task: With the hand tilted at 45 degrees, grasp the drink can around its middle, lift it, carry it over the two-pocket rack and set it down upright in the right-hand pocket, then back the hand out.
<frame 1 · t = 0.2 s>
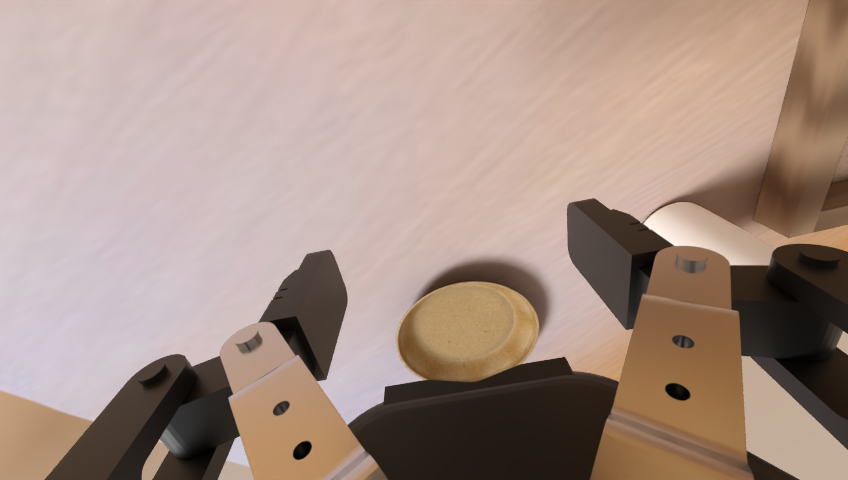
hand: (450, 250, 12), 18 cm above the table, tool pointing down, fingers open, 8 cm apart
plant saucer: (463, 321, 38), on the table
can: (666, 230, 33), on the table
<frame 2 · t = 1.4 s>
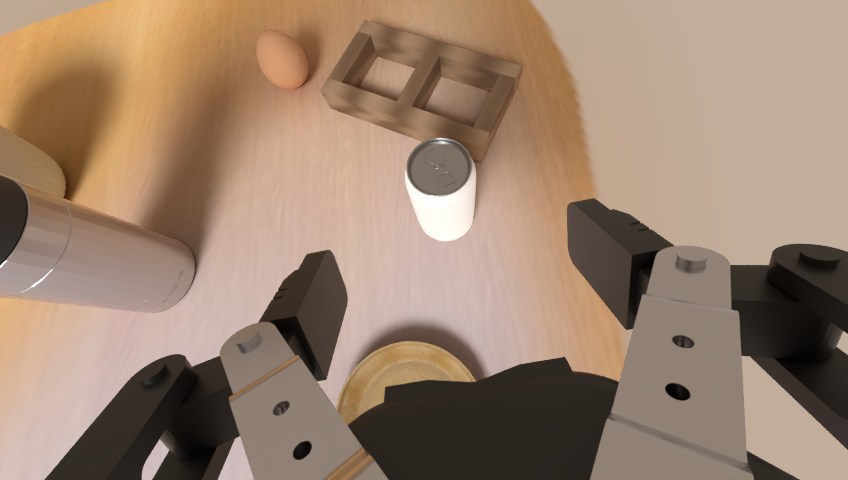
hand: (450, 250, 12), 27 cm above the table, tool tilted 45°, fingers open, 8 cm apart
canister: (32, 202, 49), on the table
plant saucer: (413, 416, 36), on the table
egg: (297, 83, 50), on the table
rack: (421, 97, 46), on the table
can: (446, 216, 41), on the table
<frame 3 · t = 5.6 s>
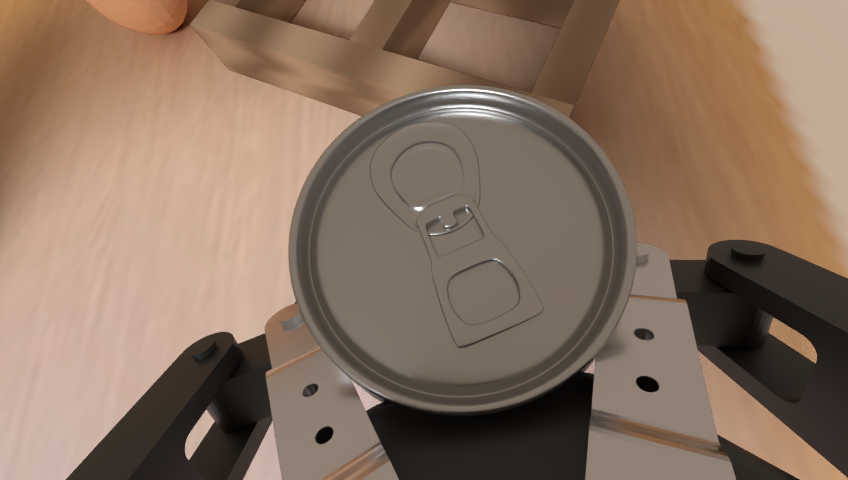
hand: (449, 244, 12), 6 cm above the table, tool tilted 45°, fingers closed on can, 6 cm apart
egg: (175, 27, 26), on the table
rack: (409, 43, 22), on the table
can: (464, 309, 17), on the table, touching gripper
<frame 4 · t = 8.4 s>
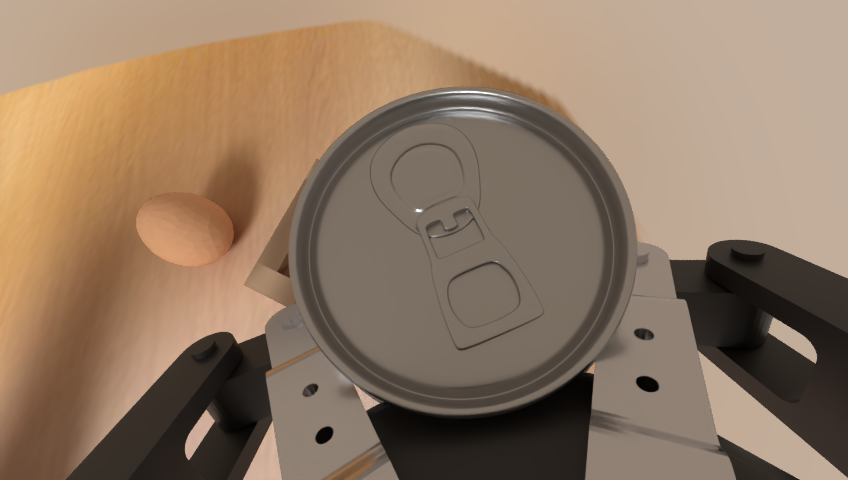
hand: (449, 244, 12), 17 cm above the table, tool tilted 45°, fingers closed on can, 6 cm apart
egg: (221, 243, 33), on the table
rack: (406, 278, 30), on the table
can: (464, 310, 17), point 11 cm above the table, touching gripper
when the fingers open (7 cm above the table, at t = 11.0 s): can drops 1 cm, resting in rack.
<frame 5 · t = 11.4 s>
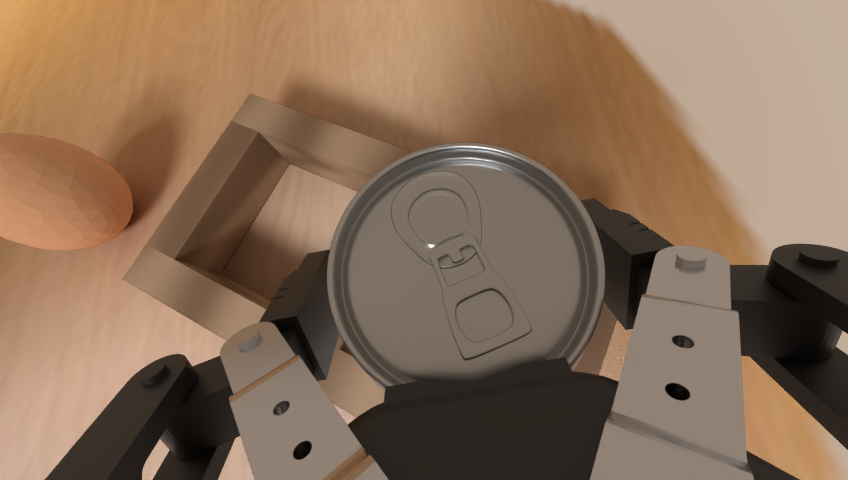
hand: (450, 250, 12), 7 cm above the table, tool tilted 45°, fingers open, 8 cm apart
egg: (121, 220, 23), on the table
rack: (380, 274, 20), on the table
can: (466, 316, 19), resting in rack
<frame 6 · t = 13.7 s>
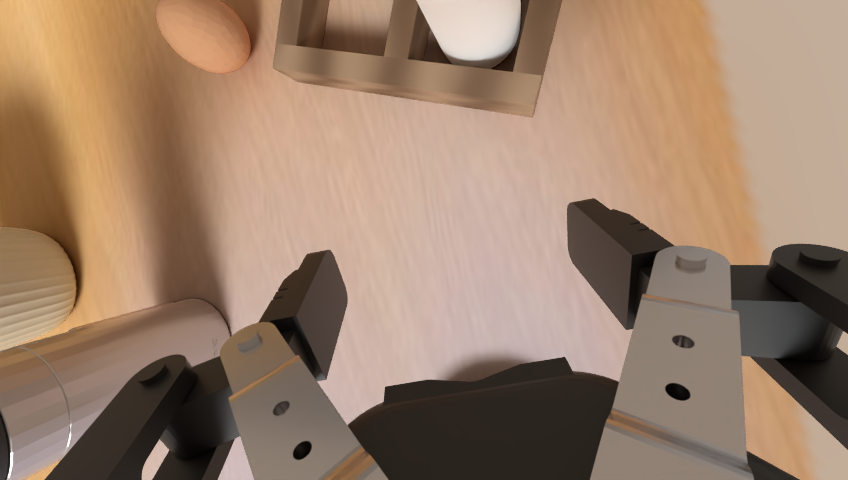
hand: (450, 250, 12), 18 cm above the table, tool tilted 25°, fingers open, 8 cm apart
canister: (52, 278, 46), on the table
egg: (242, 53, 35), on the table
rack: (419, 25, 30), on the table
can: (479, 33, 28), resting in rack
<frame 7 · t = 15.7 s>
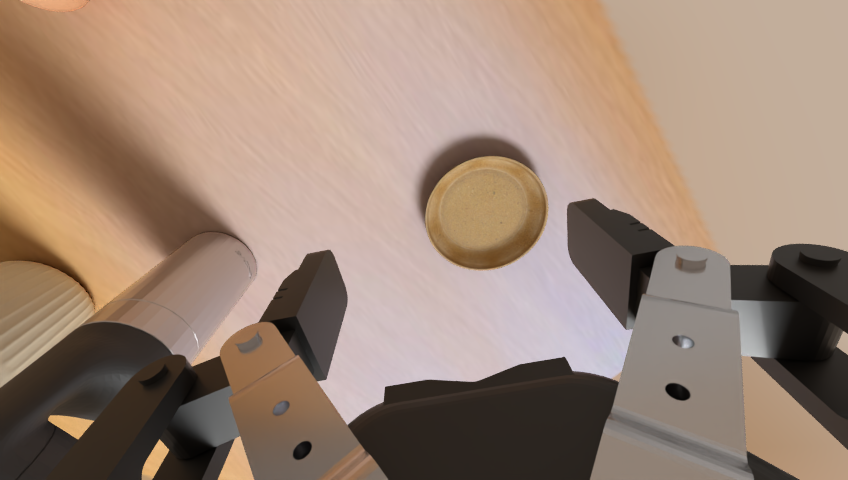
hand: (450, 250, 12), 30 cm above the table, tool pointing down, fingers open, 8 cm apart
canister: (52, 295, 48), on the table
plant saucer: (482, 209, 44), on the table
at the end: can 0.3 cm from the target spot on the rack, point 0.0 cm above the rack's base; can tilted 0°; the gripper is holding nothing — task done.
